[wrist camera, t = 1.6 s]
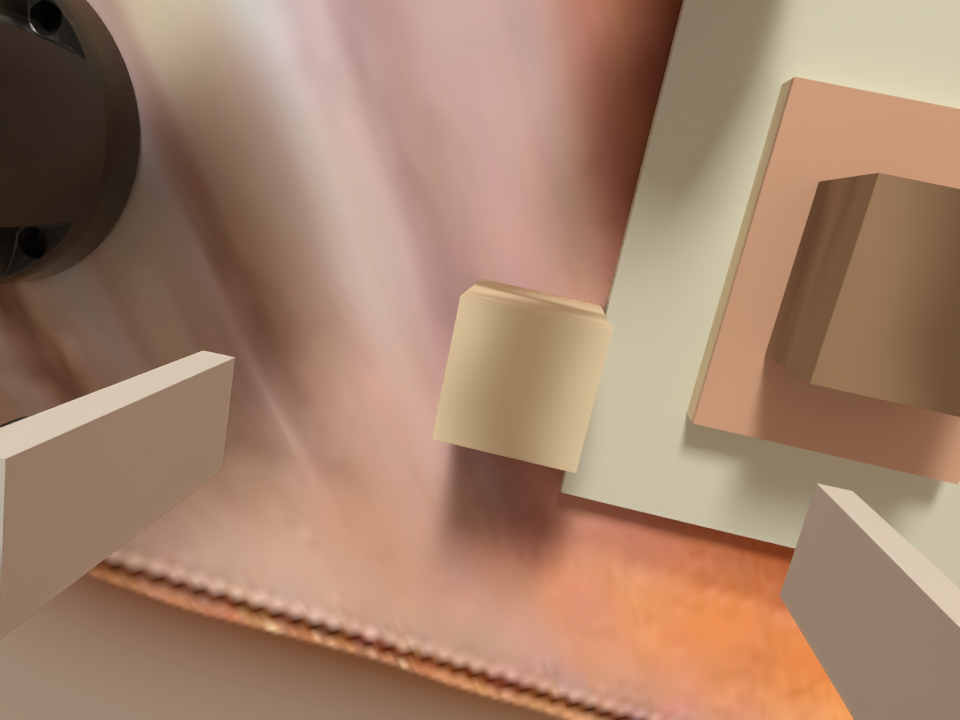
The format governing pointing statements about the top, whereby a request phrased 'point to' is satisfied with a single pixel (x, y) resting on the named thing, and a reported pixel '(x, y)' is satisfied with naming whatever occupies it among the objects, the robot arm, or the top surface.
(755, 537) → the board
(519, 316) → the maple block
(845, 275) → the walnut block
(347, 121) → the top surface
